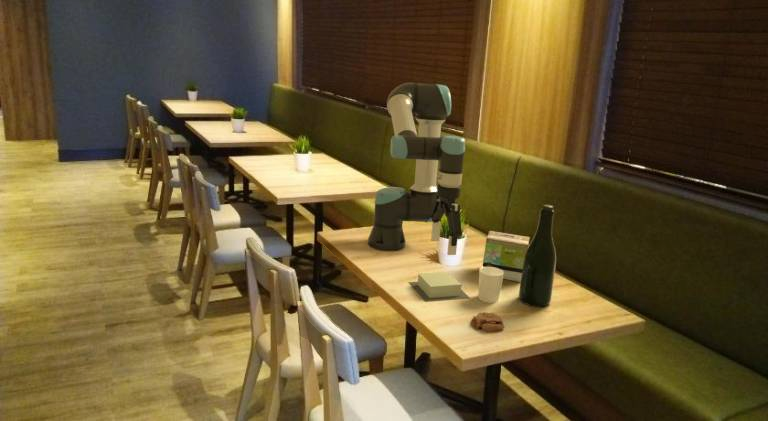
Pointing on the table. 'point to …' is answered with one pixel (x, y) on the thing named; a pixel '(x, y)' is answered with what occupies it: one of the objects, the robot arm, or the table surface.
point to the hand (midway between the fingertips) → (443, 247)
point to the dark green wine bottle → (539, 263)
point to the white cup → (490, 284)
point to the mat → (427, 299)
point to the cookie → (488, 322)
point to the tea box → (506, 253)
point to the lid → (439, 284)
